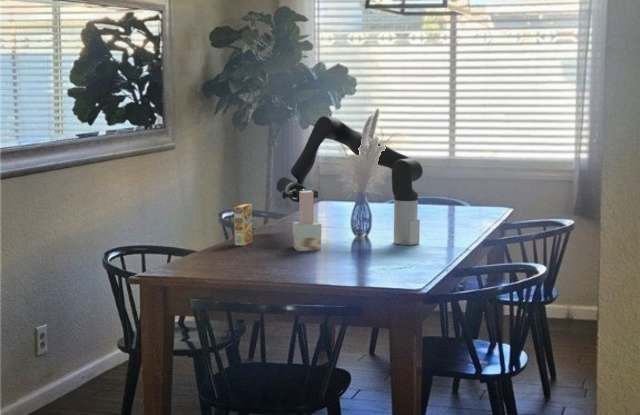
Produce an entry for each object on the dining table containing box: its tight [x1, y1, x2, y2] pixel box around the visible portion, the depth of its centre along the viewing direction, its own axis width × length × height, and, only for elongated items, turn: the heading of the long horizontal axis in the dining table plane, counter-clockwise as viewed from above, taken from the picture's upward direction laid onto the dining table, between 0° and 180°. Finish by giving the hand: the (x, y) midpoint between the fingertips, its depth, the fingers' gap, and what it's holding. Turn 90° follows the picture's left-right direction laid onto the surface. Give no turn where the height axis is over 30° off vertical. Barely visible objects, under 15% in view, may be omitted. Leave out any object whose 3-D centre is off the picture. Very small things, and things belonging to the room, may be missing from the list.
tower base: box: [293, 235, 322, 252], centre depth 363 cm, size 9×9×5 cm
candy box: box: [233, 203, 253, 247], centre depth 373 cm, size 9×4×15 cm, turn 163°
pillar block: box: [298, 190, 315, 224], centre depth 361 cm, size 4×4×12 cm
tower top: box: [292, 220, 322, 238], centre depth 362 cm, size 9×9×5 cm
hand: (302, 196), depth 372 cm, fingers open, 8 cm apart
